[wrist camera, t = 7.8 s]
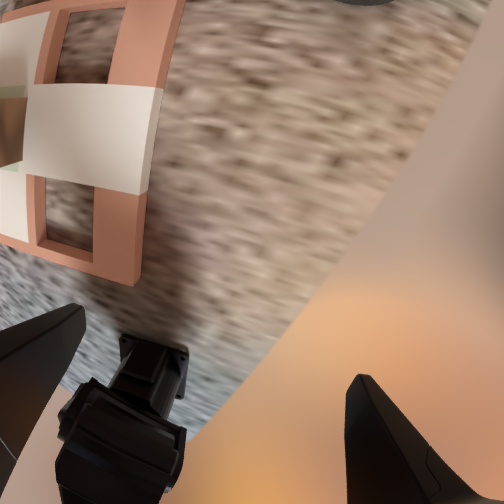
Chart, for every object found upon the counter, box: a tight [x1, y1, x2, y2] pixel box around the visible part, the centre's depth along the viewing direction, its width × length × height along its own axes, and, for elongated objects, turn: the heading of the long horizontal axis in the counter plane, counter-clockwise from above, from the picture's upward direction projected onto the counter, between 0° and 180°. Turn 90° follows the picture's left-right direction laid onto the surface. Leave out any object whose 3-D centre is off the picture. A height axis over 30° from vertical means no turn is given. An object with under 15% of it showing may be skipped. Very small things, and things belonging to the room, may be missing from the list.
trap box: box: [0, 0, 186, 287], centre depth 18 cm, size 21×17×4 cm
